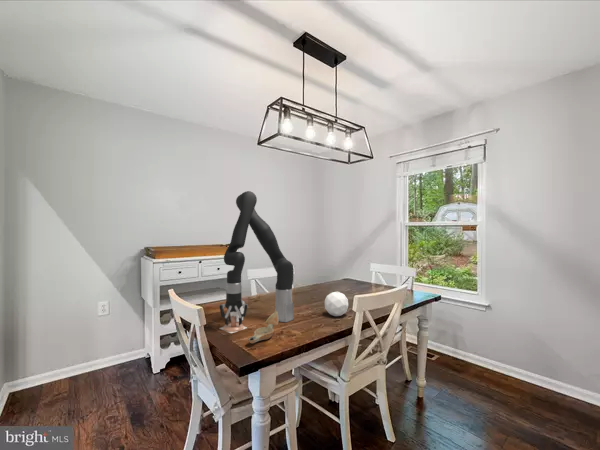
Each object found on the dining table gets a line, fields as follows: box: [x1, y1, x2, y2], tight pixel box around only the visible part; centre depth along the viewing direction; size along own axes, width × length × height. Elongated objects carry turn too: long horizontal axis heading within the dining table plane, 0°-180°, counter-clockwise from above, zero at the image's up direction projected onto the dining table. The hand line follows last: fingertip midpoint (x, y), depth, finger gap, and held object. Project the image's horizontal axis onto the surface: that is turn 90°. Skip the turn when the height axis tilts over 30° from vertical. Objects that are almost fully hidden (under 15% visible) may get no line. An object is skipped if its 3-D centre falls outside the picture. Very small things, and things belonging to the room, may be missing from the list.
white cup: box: [229, 299, 246, 323], centre depth 152 cm, size 8×8×10 cm
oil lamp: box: [247, 310, 279, 344], centre depth 128 cm, size 9×21×10 cm, turn 152°
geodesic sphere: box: [323, 291, 349, 317], centre depth 163 cm, size 15×14×14 cm
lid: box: [222, 316, 245, 333], centre depth 139 cm, size 10×10×6 cm
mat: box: [218, 326, 248, 334], centre depth 139 cm, size 10×10×1 cm
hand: (233, 324), depth 139 cm, fingers open, 5 cm apart
